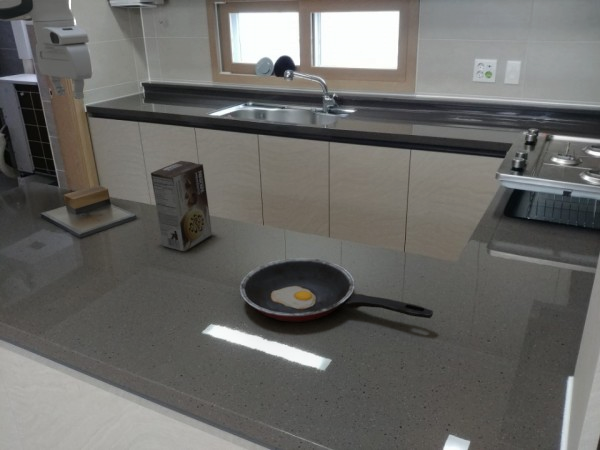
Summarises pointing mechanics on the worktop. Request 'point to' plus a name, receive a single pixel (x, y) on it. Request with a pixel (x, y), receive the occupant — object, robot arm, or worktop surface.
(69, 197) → the eraser
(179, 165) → the coffee box
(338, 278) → the frying pan
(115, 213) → the whiteboard
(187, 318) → the worktop surface
